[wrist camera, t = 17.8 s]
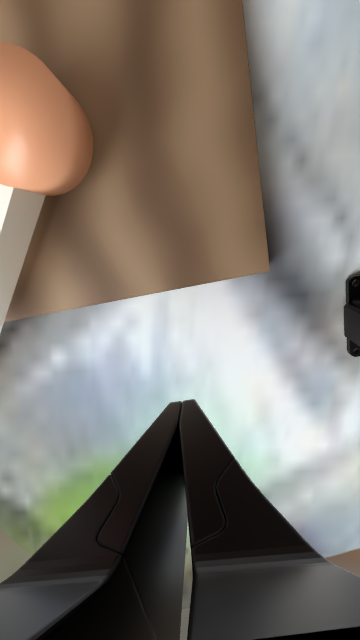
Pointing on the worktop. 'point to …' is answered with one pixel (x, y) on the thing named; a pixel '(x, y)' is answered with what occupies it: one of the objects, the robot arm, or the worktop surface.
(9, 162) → the orange and white spoon
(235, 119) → the post board
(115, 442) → the worktop surface
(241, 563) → the robot arm
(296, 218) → the worktop surface
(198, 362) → the worktop surface
